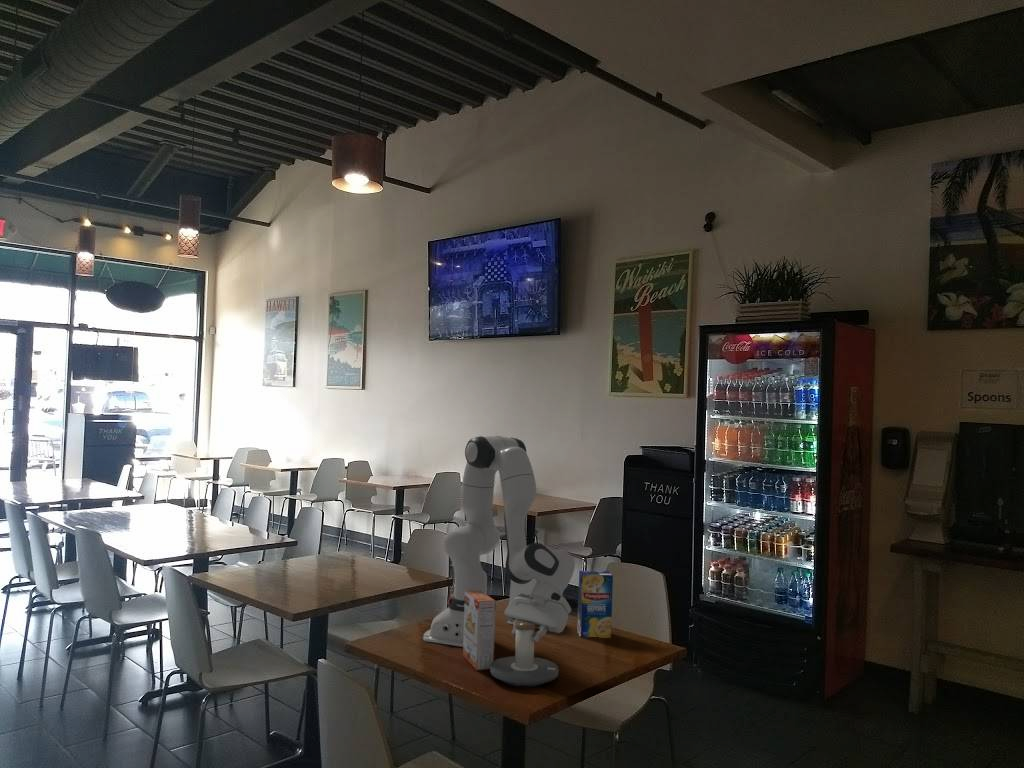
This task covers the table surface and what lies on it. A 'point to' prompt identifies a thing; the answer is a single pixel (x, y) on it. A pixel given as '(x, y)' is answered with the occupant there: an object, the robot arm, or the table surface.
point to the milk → (521, 590)
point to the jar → (524, 645)
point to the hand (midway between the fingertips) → (524, 637)
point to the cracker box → (479, 629)
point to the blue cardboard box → (595, 604)
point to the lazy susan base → (522, 684)
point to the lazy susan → (524, 671)
